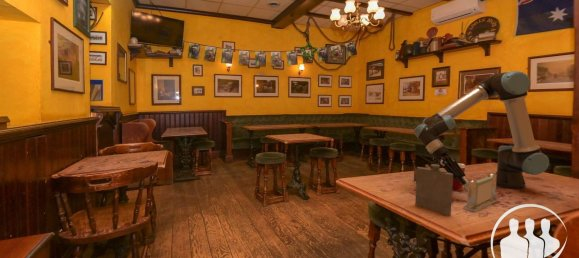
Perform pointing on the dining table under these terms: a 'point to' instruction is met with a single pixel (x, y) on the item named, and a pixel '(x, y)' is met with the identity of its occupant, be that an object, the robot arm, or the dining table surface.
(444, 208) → the hip flask
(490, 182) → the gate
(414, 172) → the grey flat container
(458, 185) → the paper cup
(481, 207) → the gate frame
